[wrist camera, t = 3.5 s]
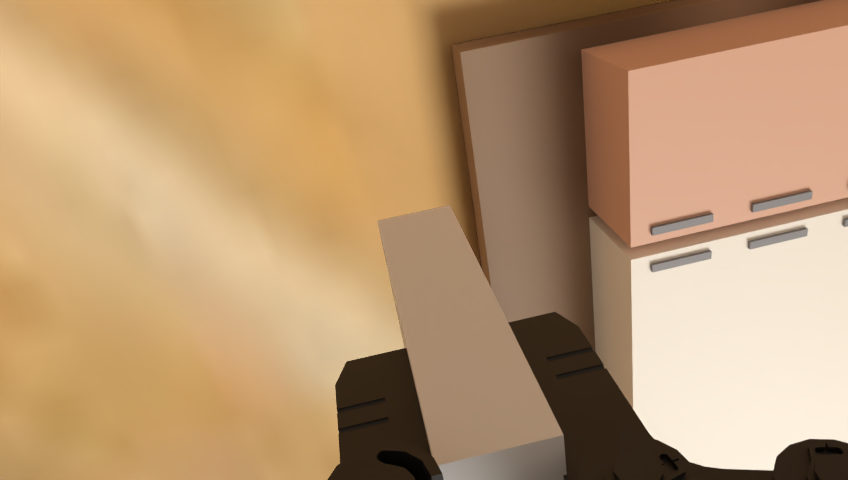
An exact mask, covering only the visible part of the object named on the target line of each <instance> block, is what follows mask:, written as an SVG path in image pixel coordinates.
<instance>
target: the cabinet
mask: <svg viewBox="0 0 848 480" xmlns="http://www.w3.org/2000/svg"><path fill="white" fill-rule="evenodd" d="M581 56H582V77H583V98H584V119H585V141H586V162H587V183H588V204H589V207H590V208H591V209H592V210H593V211H594V212H595V213H596V214H597V215H598V216H599V217H600V218H601V219H602V220H603V221H604V222H605V223H606V224H607V225H608V226H609V227H610V228H611V229H612V230H613V231H614V232H615V233H616V234H617V235H618V236H619V237H620V238H621V239H622V240H623V241H624V242H625V243H626V244H628V245H629V246H630V247H631V248H632V247H636V246H640V245H645V244H649V243H653V242H658V241H662V240H666V239H671V238H675V237H679V236H683V235H688V234H692V233H696V232H701V231H705V230H709V229H714V228H718V227H722V226H726V225H731V224H735V223H739V222H744V221H748V220H752V219H757V218H761V217H765V216H770V215H774V214H778V213H782V212H787V211H791V210H795V209H800V208H804V207H808V206H813V205H817V204H821V203H825V202H830V201H834V200H838V199H843V198H847V197H848V0H821V1H816V2H811V3H807V4H802V5H797V6H792V7H787V8H782V9H777V10H772V11H767V12H763V13H758V14H753V15H748V16H743V17H738V18H733V19H728V20H723V21H719V22H714V23H709V24H704V25H699V26H694V27H689V28H684V29H679V30H675V31H670V32H665V33H660V34H655V35H650V36H645V37H640V38H635V39H631V40H626V41H621V42H616V43H611V44H606V45H601V46H596V47H591V48H586V49H582V50H581Z"/></svg>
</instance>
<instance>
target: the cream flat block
mask: <svg viewBox="0 0 848 480" xmlns="http://www.w3.org/2000/svg"><path fill="white" fill-rule="evenodd" d="M589 225H590V246H591V267H592V288H593V310H594V331H595V352H596V353H597V355H598V356H599V358H600V360H601V361H602V363H603V365H604V368H606V369H607V370H608V372H609V373H610V375H611V376H612V378H613V379H614V381H615V382H616V384H617V385H618V387H619V388H620V390H621V391H622V393H623V394H624V396H625V397H626V399H627V401H628V402H629V404H630V405H631V407H632V408H633V410H634V411H635V413H636V414H637V416H638V417H639V419H640V420H641V422H642V423H643V425H644V426H645V428H646V429H647V431H648V432H649V434H650V435H651V436H652V437H653V438H654V439H656V440H659V441H661V442H663V443H665V444H667V445H669V446H671V447H673V448H675V449H677V450H678V451H679V452H680V453H681V454H682V455H683V456H684V457H685V458H686V459H687V460H688V461H689V462H691V463H695V464H698V465H701V466H705V467H712V468H721V469H743V470H773V469H774V465H775V461H776V457H777V456H778V455H779V454H780V453H781V452H782V451H783V450H784V449H785V448H786V447H788V446H789V445H790V444H794V443H797V442H801V441H804V440H808V439H834V440H838V441H842V442H846V443H848V197H847V198H843V199H838V200H834V201H830V202H825V203H821V204H817V205H813V206H808V207H804V208H800V209H795V210H791V211H787V212H782V213H778V214H774V215H770V216H765V217H761V218H757V219H752V220H748V221H744V222H739V223H735V224H731V225H726V226H722V227H718V228H714V229H709V230H705V231H701V232H696V233H692V234H688V235H683V236H679V237H675V238H671V239H666V240H662V241H658V242H653V243H649V244H645V245H640V246H636V247H632V248H631V247H630V246H629V245H628V244H626V243H625V242H624V241H623V240H622V239H621V238H620V237H619V236H618V235H617V234H616V233H615V232H614V231H613V230H612V229H611V228H610V227H609V226H608V225H607V224H606V223H605V222H604V221H603V220H602V219H601V218H600V217H599V216H593V217H589Z"/></svg>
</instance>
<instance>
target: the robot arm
mask: <svg viewBox="0 0 848 480" xmlns="http://www.w3.org/2000/svg"><path fill="white" fill-rule="evenodd" d="M378 226H379V231H380V235H381V240H382V245H383V249H384V254H385V259H386V263H387V268H388V273H389V278H390V282H391V287H392V292H393V296H394V301H395V306H396V310H397V315H398V320H399V324H400V329H401V333H402V338H403V342H404V346H405V348H404V349H400V350H395V351H391V352H387V353H382V354H378V355H374V356H369V357H365V358H361V359H356V360H352V361H347V362H346V364H345V366H344V368H343V370H342V372H341V374H340V377H339V379H338V381H337V383H336V385H335V387H336V402H337V411H338V414H337V417H338V430H339V448H340V464H339V465H338V466H337V467H336V468H335V469H334V471H333V472H332V474H331V475H330V477H329V478H328V480H848V443H846V442H842V441H838V440H834V439H808V440H804V441H801V442H797V443H794V444H790V445H789V446H788V447H786V448H785V449H784V450H783V451H782V452H781V453H780V454H779V455H778V456H777V457H776V461H775V465H774V469H773V470H743V469H721V468H712V467H705V466H701V465H698V464H695V463H691V462H689V461H688V460H687V459H686V458H685V457H684V456H683V455H682V454H681V453H680V452H679V451H678V450H677V449H675V448H673V447H671V446H669V445H667V444H665V443H663V442H661V441H659V440H656V439H654V438H653V437H652V436H651V435H650V434H649V432H648V431H647V429H646V428H645V426H644V425H643V423H642V422H641V420H640V419H639V417H638V416H637V414H636V413H635V411H634V410H633V408H632V407H631V405H630V404H629V402H628V401H627V399H626V397H625V396H624V394H623V393H622V391H621V390H620V388H619V387H618V385H617V384H616V382H615V381H614V379H613V378H612V376H611V375H610V373H609V372H608V370H607V369H606V368H604V365H603V363H602V361H601V360H600V358H599V356H598V355H597V353H596V352H595V351H593V349H592V346H591V344H590V343H589V341H588V340H587V338H586V337H585V335H584V334H583V332H582V331H581V329H580V328H579V326H577V325H576V324H574V323H572V322H571V321H569V320H568V319H566V318H564V317H563V316H561V315H560V314H558V313H556V312H552V313H547V314H543V315H539V316H534V317H530V318H526V319H521V320H517V321H512V322H508V321H507V319H506V317H505V315H504V313H503V311H502V309H501V307H500V305H499V303H498V301H497V299H496V297H495V295H494V293H493V291H492V289H491V287H490V285H489V283H488V281H487V279H486V277H485V275H484V273H483V271H482V269H481V267H480V265H479V263H478V261H477V258H476V256H475V254H474V252H473V250H472V248H471V246H470V244H469V242H468V240H467V238H466V236H465V234H464V232H463V230H462V228H461V226H460V224H459V222H458V220H457V218H456V216H455V214H454V212H453V210H452V208H451V206H450V205H448V206H444V207H439V208H434V209H430V210H425V211H420V212H416V213H411V214H406V215H402V216H397V217H392V218H388V219H383V220H378Z"/></svg>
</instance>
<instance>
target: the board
mask: <svg viewBox="0 0 848 480" xmlns="http://www.w3.org/2000/svg"><path fill="white" fill-rule="evenodd" d="M816 1H821V0H673V1H668V2H663V3H658V4H653V5H648V6H643V7H638V8H633V9H628V10H623V11H618V12H613V13H608V14H603V15H598V16H593V17H588V18H583V19H578V20H573V21H568V22H563V23H558V24H553V25H548V26H543V27H538V28H534V29H529V30H524V31H519V32H514V33H509V34H504V35H499V36H494V37H489V38H484V39H479V40H474V41H469V42H464V43H459V44H454V45H451V48H452V55H453V62H454V70H455V77H456V84H457V92H458V99H459V106H460V113H461V121H462V128H463V135H464V143H465V150H466V157H467V164H468V172H469V179H470V186H471V194H472V201H473V208H474V215H475V223H476V230H477V237H478V245H479V252H480V259H481V266H482V271H483V273H484V275H485V277H486V279H487V281H488V283H489V285H490V287H491V289H492V291H493V293H494V295H495V297H496V299H497V301H498V303H499V305H500V307H501V309H502V311H503V313H504V315H505V317H506V319H507V321H508V322H512V321H517V320H521V319H526V318H530V317H534V316H539V315H543V314H547V313H552V312H556V313H558V314H560V315H561V316H563V317H564V318H566V319H568V320H569V321H571V322H572V323H574V324H576V325H577V326H579V328H580V329H581V331H582V332H583V334H584V335H585V337H586V338H587V340H588V341H589V343H590V344H591V346H592V349H593V351H595V331H594V310H593V288H592V267H591V246H590V225H589V217H593V216H598V215H597V214H596V213H595V212H594V211H593V210H592V209H591V208H590V207H589V204H588V183H587V162H586V141H585V119H584V98H583V77H582V56H581V50H582V49H586V48H591V47H596V46H601V45H606V44H611V43H616V42H621V41H626V40H631V39H635V38H640V37H645V36H650V35H655V34H660V33H665V32H670V31H675V30H679V29H684V28H689V27H694V26H699V25H704V24H709V23H714V22H719V21H723V20H728V19H733V18H738V17H743V16H748V15H753V14H758V13H763V12H767V11H772V10H777V9H782V8H787V7H792V6H797V5H802V4H807V3H811V2H816Z"/></svg>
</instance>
